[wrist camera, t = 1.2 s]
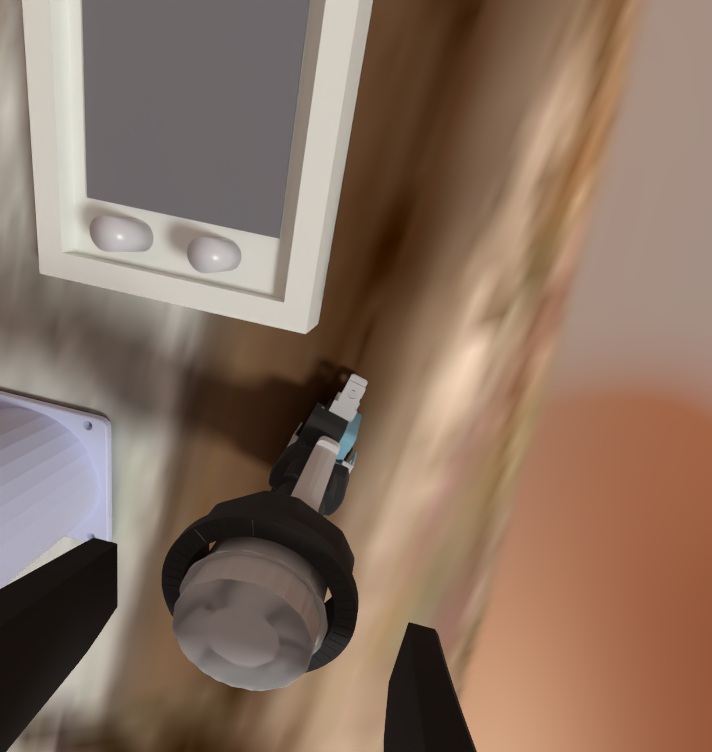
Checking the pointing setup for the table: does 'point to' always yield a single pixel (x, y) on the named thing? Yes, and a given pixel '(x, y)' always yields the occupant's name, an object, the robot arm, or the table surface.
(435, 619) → the table surface
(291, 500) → the push button
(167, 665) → the table surface
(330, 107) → the pin tray
